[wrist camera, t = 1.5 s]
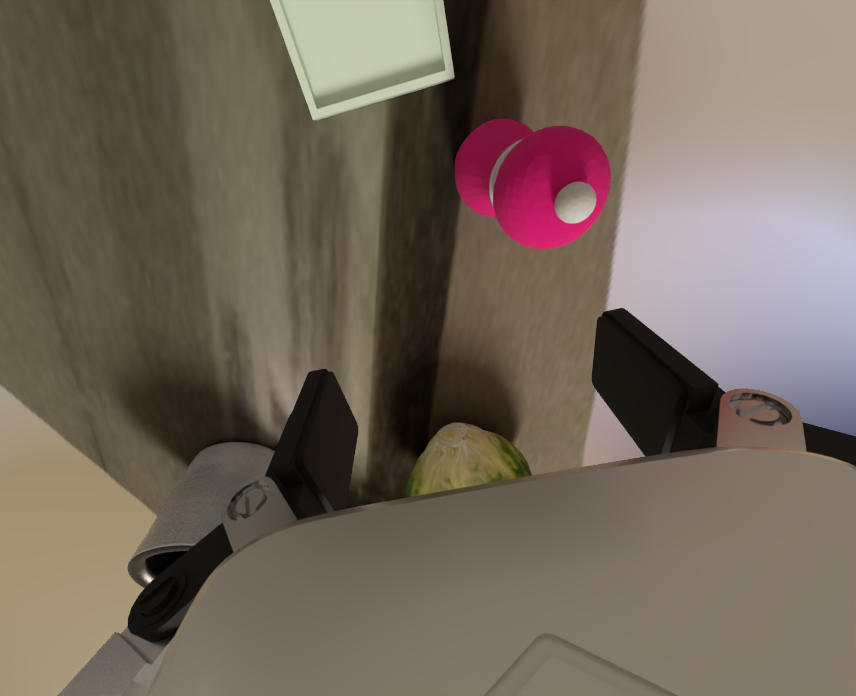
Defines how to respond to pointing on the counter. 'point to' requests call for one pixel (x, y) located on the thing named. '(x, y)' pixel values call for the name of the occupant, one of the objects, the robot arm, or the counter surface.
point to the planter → (196, 505)
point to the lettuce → (465, 460)
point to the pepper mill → (534, 180)
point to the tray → (364, 49)
